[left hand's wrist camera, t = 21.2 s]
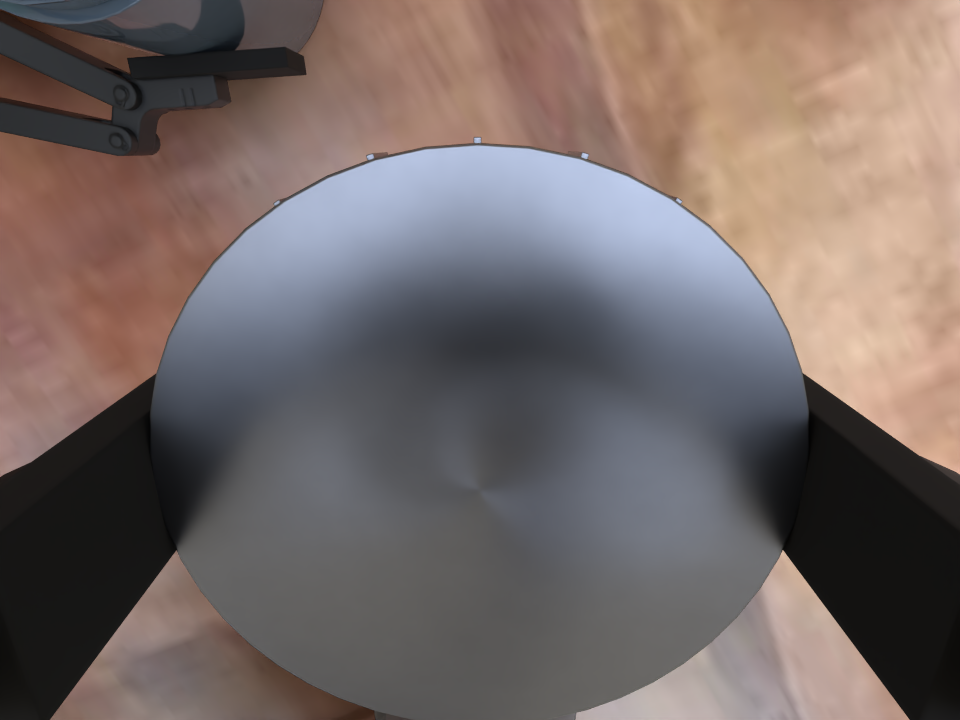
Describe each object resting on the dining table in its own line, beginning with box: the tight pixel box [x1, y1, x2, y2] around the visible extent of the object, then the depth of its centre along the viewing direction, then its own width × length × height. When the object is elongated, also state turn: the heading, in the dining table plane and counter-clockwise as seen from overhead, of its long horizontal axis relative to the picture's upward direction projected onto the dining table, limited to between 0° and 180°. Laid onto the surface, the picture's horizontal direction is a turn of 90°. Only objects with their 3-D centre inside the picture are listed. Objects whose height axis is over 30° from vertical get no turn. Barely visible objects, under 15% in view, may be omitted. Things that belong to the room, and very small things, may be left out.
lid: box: [150, 137, 810, 720], centre depth 11 cm, size 11×11×2 cm
